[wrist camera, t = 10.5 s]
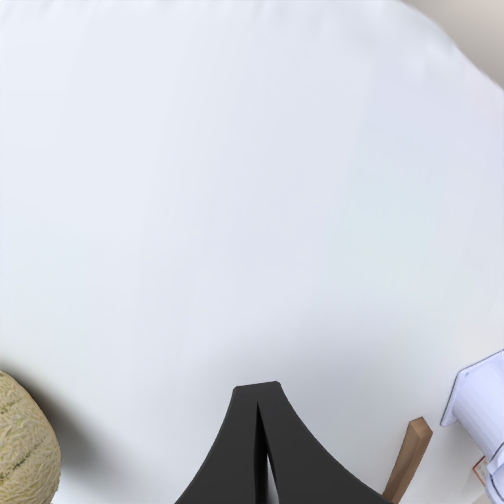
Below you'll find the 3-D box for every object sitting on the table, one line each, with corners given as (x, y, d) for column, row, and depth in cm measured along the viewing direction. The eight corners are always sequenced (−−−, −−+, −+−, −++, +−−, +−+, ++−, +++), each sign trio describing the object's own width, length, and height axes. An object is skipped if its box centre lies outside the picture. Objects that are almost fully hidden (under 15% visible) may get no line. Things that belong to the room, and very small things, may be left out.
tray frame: (422, 416, 23) (433, 432, 21) (390, 495, 28) (395, 507, 26) (240, 460, 23) (241, 481, 20) (262, 524, 28) (264, 538, 25)
